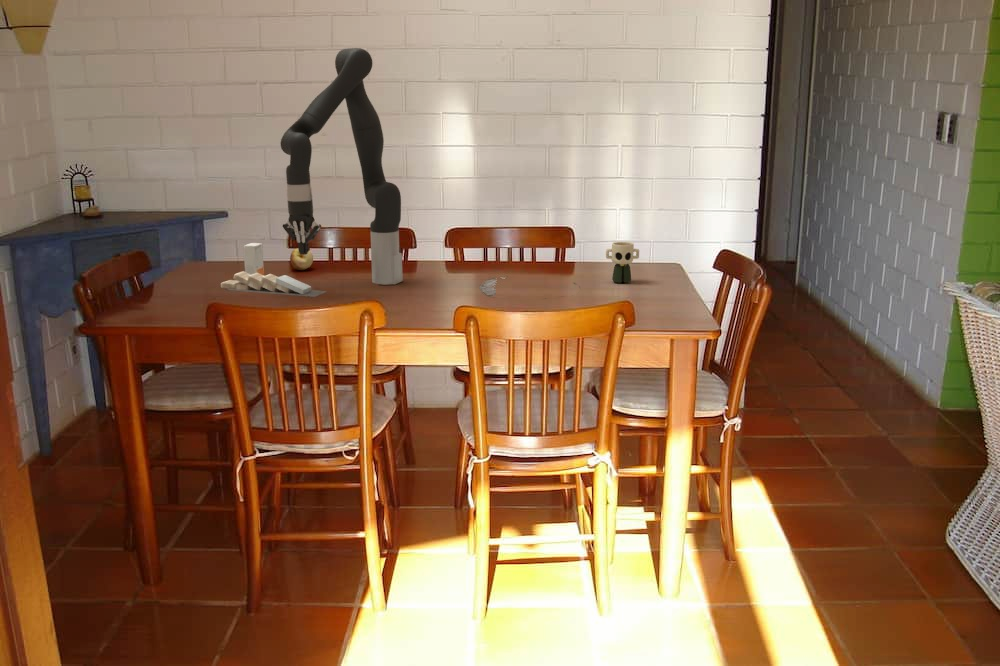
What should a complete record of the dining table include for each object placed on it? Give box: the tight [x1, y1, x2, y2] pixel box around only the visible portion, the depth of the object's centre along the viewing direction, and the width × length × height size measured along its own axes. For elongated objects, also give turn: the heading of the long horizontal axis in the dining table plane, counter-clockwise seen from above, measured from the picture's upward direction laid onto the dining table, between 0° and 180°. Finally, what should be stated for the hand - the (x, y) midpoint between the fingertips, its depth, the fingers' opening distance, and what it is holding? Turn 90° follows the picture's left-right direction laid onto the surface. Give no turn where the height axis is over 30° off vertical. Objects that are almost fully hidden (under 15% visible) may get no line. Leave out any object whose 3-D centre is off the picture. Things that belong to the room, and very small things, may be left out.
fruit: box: [289, 247, 314, 271], centre depth 337 cm, size 8×8×8 cm
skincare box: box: [242, 242, 265, 276], centre depth 321 cm, size 6×4×12 cm
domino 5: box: [275, 274, 312, 294], centre depth 302 cm, size 2×5×10 cm
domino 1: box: [220, 279, 252, 290], centre depth 308 cm, size 2×5×10 cm
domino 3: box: [248, 273, 279, 292], centre depth 305 cm, size 2×5×10 cm
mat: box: [225, 288, 328, 298], centre depth 304 cm, size 32×8×1 cm, turn 71°
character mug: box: [605, 241, 640, 283], centre depth 315 cm, size 11×7×13 cm, turn 89°
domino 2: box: [232, 270, 266, 291], centre depth 306 cm, size 2×5×10 cm
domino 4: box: [261, 273, 293, 293], centre depth 303 cm, size 2×5×10 cm
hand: (304, 254), depth 298 cm, fingers closed
